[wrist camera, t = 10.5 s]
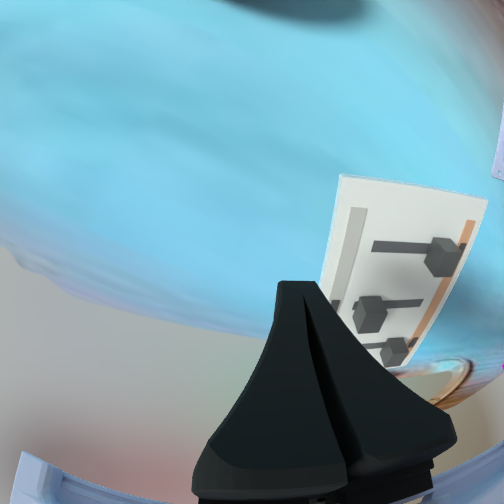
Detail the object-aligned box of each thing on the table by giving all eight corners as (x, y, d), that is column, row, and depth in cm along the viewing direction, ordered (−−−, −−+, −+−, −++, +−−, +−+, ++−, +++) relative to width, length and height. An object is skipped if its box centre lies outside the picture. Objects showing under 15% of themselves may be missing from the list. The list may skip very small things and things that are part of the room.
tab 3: (450, 238, 19) (462, 252, 17) (440, 262, 20) (451, 277, 19) (433, 237, 19) (445, 251, 17) (423, 262, 20) (434, 277, 19)
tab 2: (403, 337, 26) (409, 352, 24) (394, 351, 27) (400, 365, 25) (387, 339, 26) (393, 354, 24) (379, 353, 27) (384, 367, 25)
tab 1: (380, 296, 22) (388, 312, 20) (372, 316, 23) (378, 332, 22) (359, 296, 22) (366, 314, 20) (352, 316, 23) (357, 334, 22)
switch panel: (478, 193, 18) (490, 201, 17) (402, 356, 30) (406, 367, 29) (336, 169, 18) (343, 177, 17) (295, 364, 30) (297, 377, 29)
